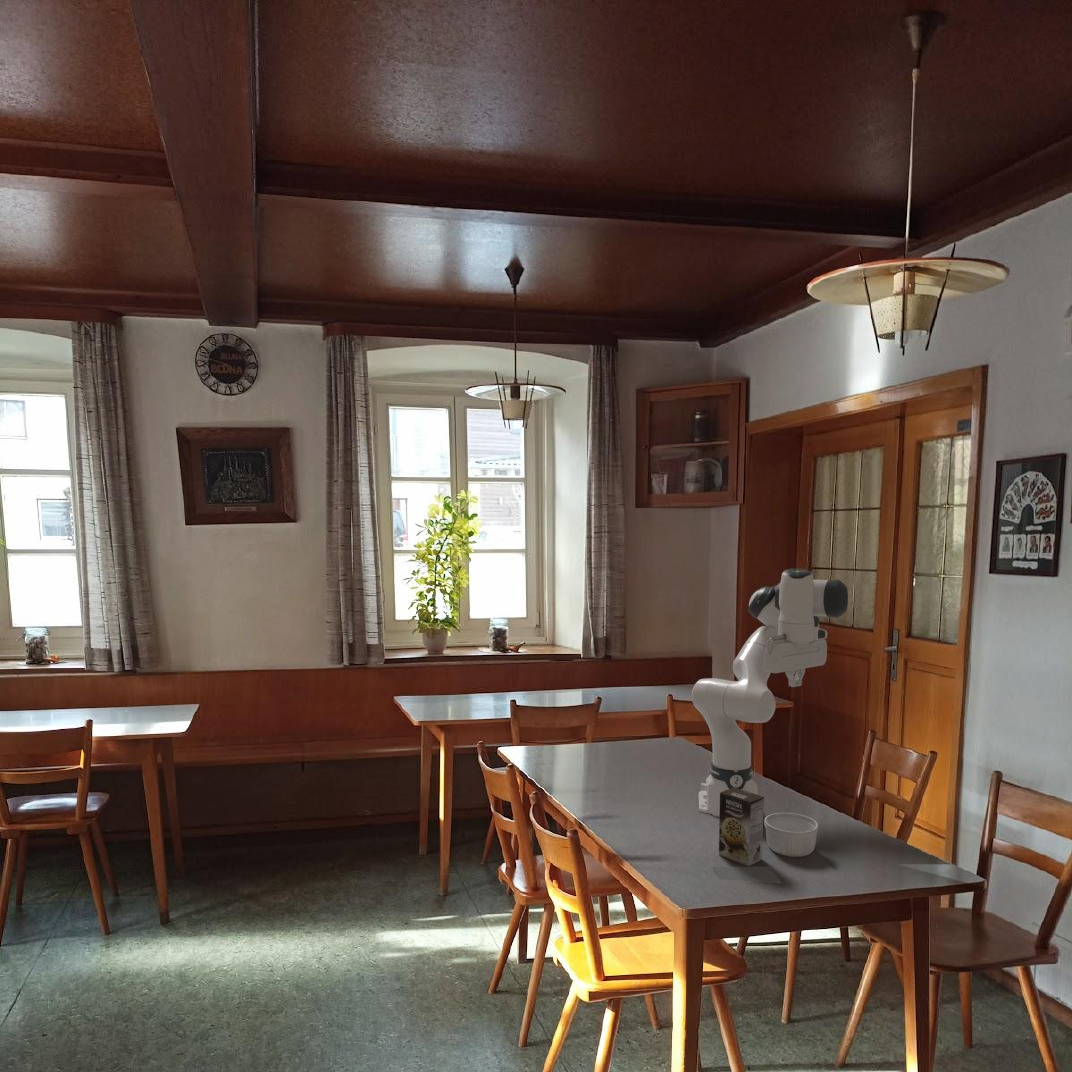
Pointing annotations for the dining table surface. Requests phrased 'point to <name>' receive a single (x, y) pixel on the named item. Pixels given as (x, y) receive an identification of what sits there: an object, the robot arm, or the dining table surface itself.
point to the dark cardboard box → (741, 826)
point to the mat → (747, 874)
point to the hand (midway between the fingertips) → (794, 686)
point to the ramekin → (791, 834)
